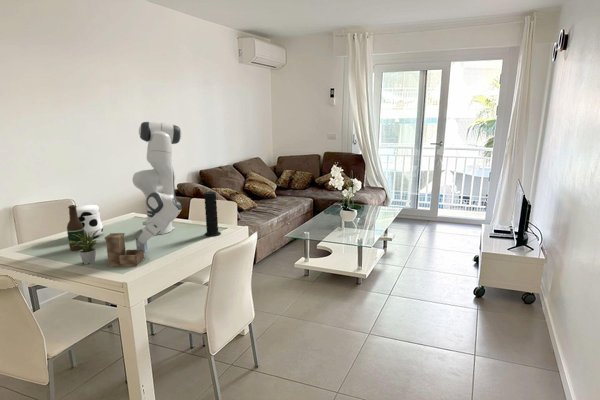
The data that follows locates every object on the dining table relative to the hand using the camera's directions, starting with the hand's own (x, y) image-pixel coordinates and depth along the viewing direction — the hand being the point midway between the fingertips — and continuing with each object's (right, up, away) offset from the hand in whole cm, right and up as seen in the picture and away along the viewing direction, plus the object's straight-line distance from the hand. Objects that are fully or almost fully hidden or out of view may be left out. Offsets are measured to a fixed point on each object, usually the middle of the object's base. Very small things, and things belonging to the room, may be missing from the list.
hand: (140, 243), depth 201 cm
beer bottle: (-36, -4, +6) cm, 37 cm away
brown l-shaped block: (-1, -8, -15) cm, 17 cm away
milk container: (-43, 0, +27) cm, 51 cm away
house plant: (-19, -8, -13) cm, 24 cm away
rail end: (+1, -4, +1) cm, 4 cm away
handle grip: (+31, +2, +29) cm, 43 cm away
